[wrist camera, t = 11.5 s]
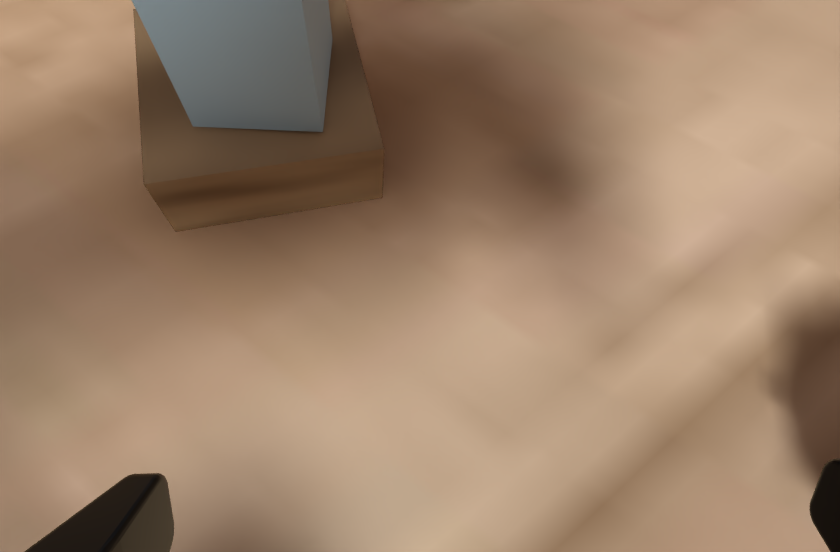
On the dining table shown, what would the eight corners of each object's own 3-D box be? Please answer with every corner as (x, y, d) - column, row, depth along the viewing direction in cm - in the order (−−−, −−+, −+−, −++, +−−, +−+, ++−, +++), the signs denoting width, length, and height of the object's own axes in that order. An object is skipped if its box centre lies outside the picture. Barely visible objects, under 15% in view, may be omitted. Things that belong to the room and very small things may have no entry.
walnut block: (382, 201, 25) (384, 148, 22) (178, 235, 24) (143, 184, 20) (345, 56, 29) (342, -12, 25) (165, 77, 27) (133, 9, 23)
